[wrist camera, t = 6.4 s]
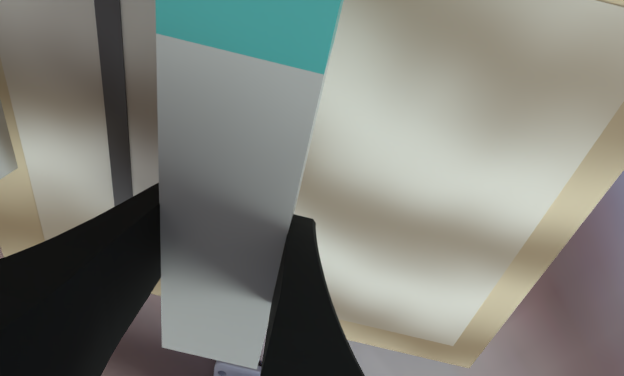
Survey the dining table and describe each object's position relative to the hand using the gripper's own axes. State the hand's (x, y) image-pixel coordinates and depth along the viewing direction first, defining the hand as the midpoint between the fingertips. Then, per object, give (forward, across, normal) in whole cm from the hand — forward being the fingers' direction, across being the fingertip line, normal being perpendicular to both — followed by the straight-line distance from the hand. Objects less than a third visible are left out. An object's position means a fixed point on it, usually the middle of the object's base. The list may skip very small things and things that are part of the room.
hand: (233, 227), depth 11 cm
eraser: (+2, 0, 0) cm, 2 cm away
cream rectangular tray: (+5, 0, 0) cm, 5 cm away
